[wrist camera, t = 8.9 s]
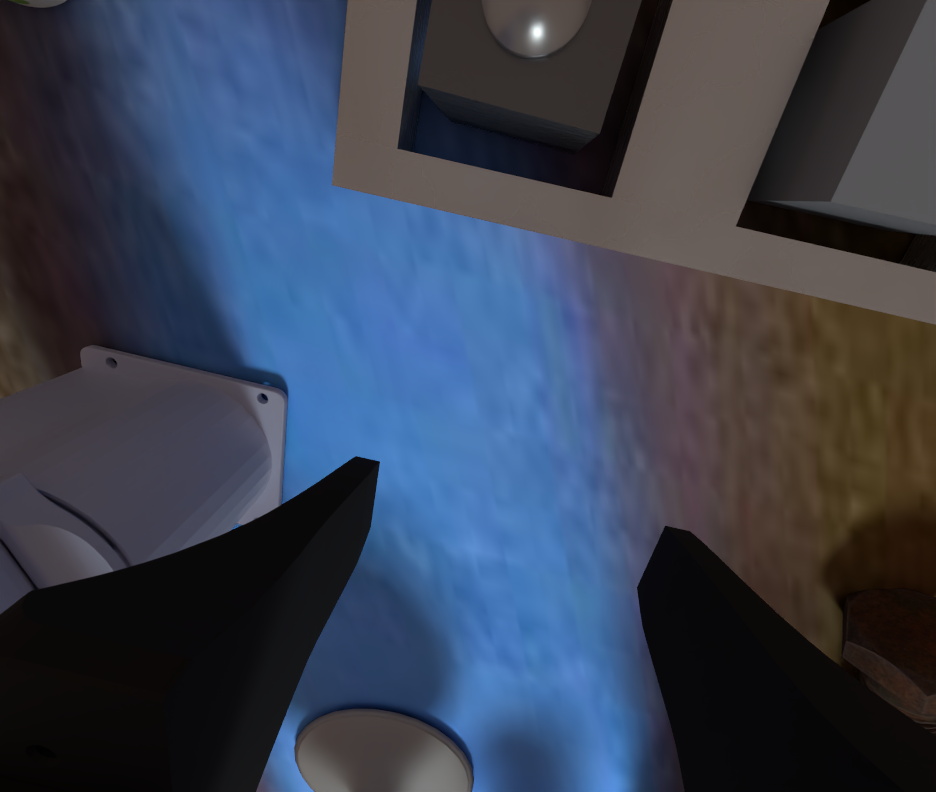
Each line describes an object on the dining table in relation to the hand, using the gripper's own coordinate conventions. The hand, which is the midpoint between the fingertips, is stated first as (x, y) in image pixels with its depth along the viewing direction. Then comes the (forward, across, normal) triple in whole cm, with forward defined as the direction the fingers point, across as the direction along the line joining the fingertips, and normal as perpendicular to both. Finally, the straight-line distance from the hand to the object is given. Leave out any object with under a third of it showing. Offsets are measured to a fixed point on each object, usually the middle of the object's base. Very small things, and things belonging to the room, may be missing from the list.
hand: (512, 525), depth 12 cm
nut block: (+10, +2, -12) cm, 15 cm away
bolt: (+10, -22, +13) cm, 27 cm away
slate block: (+10, -9, -11) cm, 17 cm away
